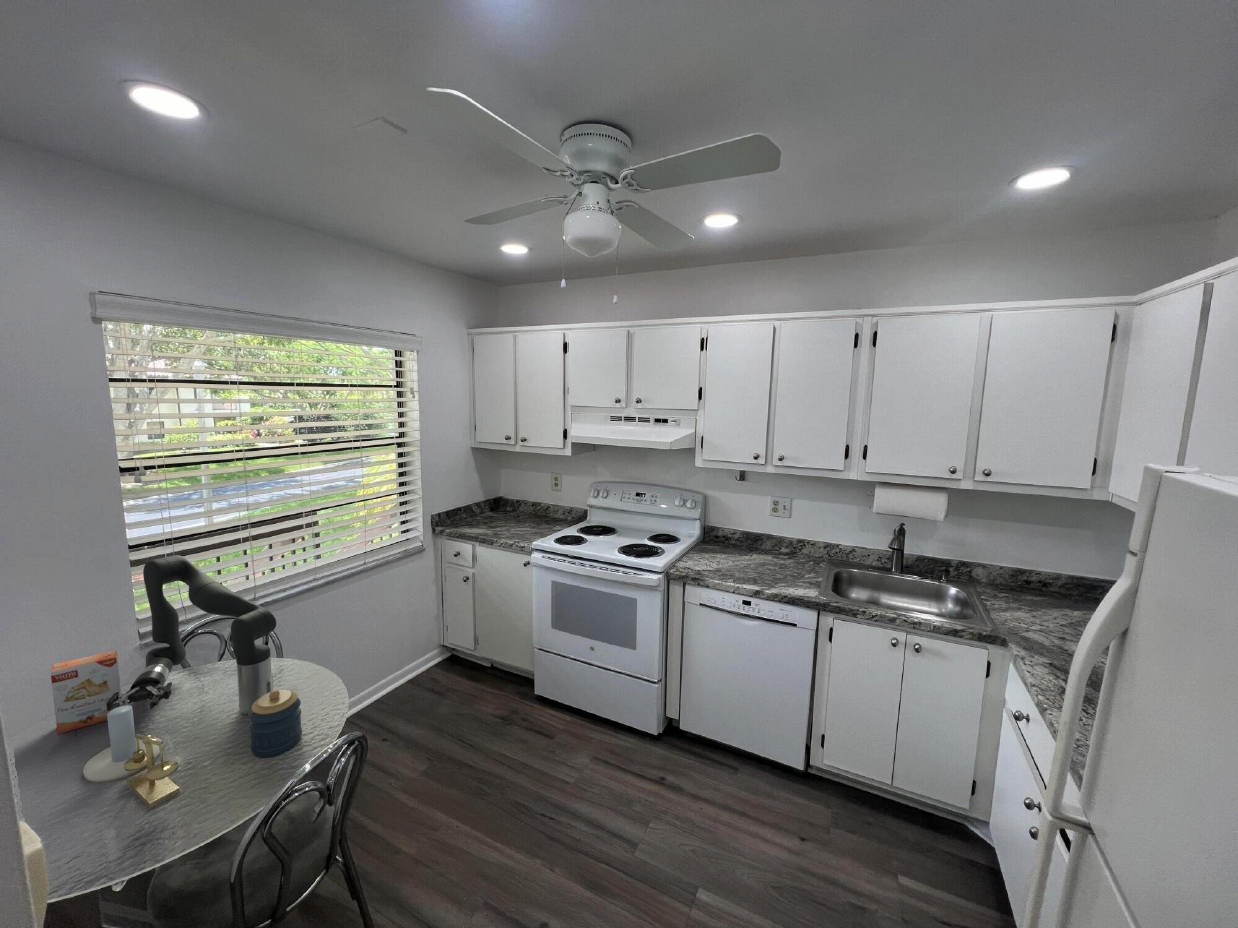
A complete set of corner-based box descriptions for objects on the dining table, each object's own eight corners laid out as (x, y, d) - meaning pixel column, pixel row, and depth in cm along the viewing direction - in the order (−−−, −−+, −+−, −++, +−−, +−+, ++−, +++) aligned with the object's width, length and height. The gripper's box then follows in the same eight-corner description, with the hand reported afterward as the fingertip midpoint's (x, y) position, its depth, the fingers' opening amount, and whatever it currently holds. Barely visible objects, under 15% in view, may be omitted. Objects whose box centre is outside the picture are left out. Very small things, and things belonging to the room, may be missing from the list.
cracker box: (57, 735, 149) (49, 671, 146) (59, 725, 153) (52, 663, 150) (122, 716, 159) (116, 656, 156) (123, 707, 163) (117, 648, 160)
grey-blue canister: (139, 747, 144) (135, 703, 142) (133, 758, 140) (128, 713, 138) (115, 752, 142) (111, 708, 140) (108, 764, 137) (103, 718, 135)
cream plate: (170, 734, 152) (169, 730, 151) (152, 770, 138) (152, 765, 138) (98, 751, 144) (97, 746, 144) (72, 790, 130) (71, 785, 130)
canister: (312, 733, 155) (310, 682, 153) (275, 763, 143) (272, 707, 140) (278, 725, 158) (276, 675, 155) (239, 753, 145) (235, 699, 143)
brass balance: (185, 797, 130) (180, 739, 127) (155, 814, 124) (149, 753, 122) (150, 765, 140) (145, 710, 137) (121, 779, 134) (115, 722, 132)
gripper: (119, 675, 157) (98, 704, 143) (178, 665, 164) (163, 691, 150) (122, 697, 158) (100, 727, 144) (180, 686, 165) (165, 714, 151)
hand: (132, 709), depth 147 cm, fingers open, 8 cm apart
